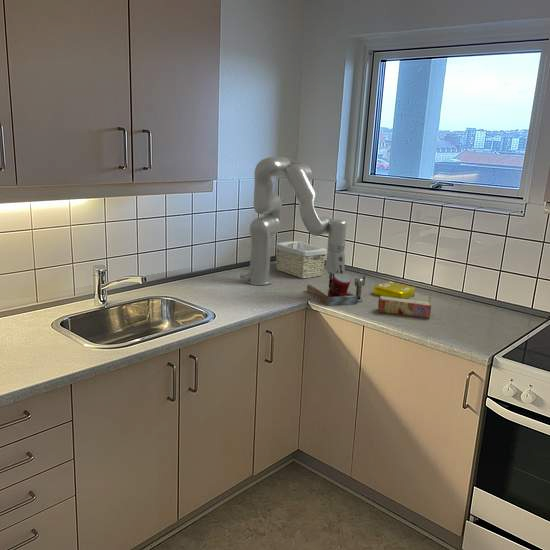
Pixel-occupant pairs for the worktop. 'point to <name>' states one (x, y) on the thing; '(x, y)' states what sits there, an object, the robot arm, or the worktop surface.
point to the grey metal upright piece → (359, 287)
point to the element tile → (394, 290)
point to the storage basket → (300, 259)
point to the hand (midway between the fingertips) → (332, 287)
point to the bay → (332, 301)
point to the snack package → (404, 307)
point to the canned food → (339, 285)
